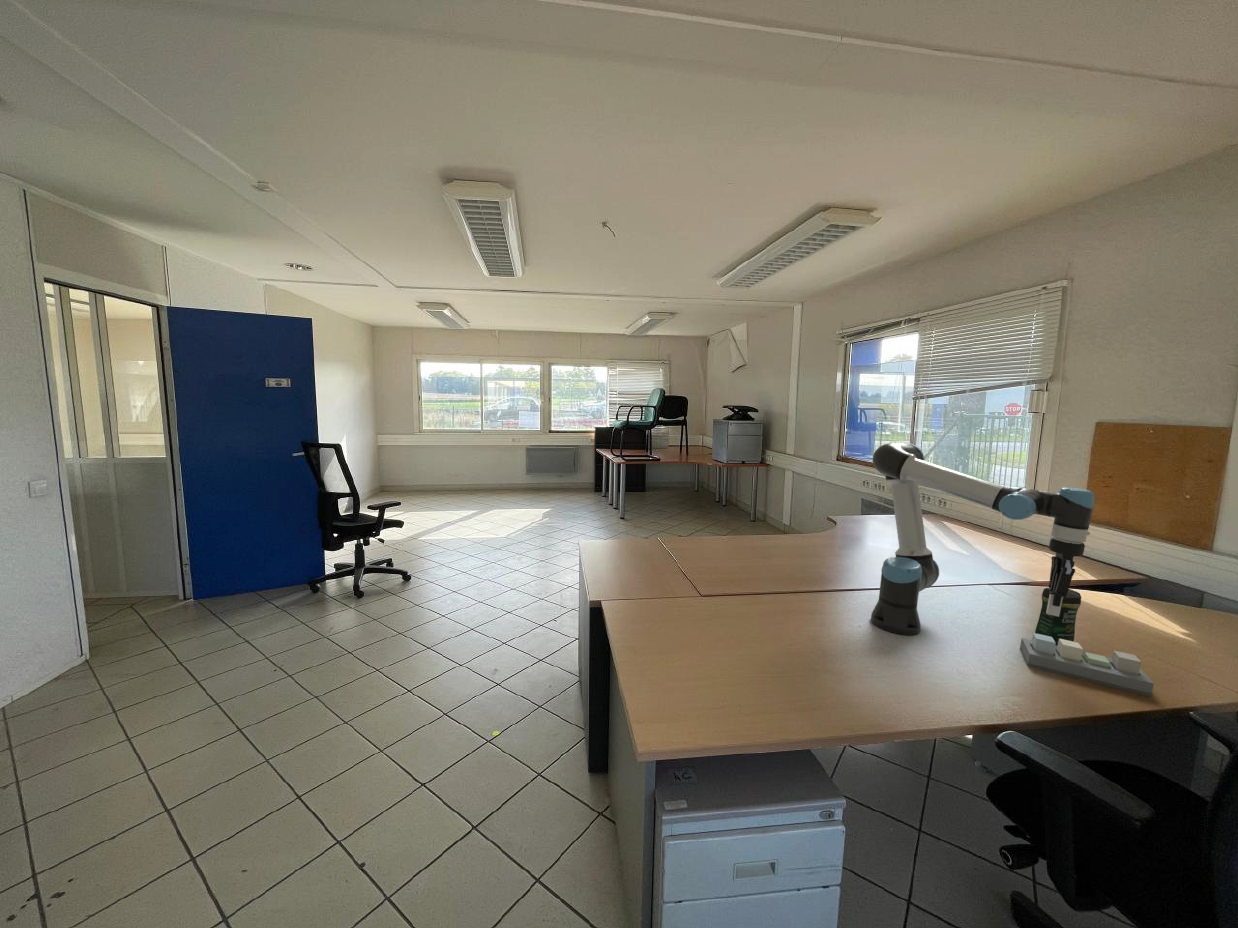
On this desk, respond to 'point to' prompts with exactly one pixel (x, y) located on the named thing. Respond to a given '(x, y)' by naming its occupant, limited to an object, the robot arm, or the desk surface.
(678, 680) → the desk surface
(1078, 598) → the coffee jar
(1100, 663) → the key sage
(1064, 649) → the key cream
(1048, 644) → the key blue
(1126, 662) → the key grey
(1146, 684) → the keypad
